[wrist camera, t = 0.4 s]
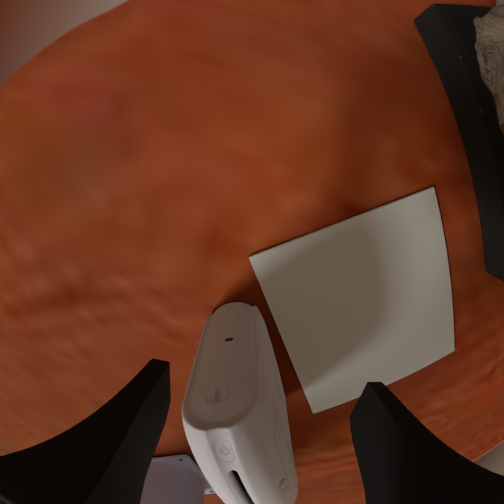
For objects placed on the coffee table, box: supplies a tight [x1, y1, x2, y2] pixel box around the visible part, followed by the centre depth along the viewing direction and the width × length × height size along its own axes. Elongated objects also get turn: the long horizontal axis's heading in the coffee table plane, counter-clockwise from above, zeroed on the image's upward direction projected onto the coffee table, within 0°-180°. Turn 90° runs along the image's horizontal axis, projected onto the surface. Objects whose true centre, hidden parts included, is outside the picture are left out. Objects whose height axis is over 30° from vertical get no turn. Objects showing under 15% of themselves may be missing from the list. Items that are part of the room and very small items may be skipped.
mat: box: [249, 187, 455, 414], centre depth 21 cm, size 14×15×1 cm
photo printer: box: [182, 302, 298, 504], centre depth 16 cm, size 10×4×12 cm, turn 14°
